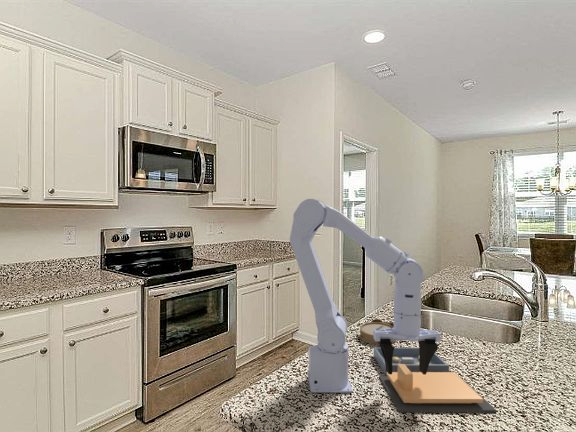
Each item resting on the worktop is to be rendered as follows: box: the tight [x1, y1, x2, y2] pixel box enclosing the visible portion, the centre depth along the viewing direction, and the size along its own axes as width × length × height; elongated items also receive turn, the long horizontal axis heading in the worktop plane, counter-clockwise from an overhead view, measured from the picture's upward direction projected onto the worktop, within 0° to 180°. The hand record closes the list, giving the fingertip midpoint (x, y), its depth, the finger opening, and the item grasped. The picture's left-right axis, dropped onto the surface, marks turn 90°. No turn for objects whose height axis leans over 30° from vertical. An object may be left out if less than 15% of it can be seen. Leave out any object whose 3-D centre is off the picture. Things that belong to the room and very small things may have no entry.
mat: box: [378, 375, 497, 414], centre depth 75 cm, size 20×14×1 cm
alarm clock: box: [358, 318, 397, 346], centre depth 109 cm, size 11×5×15 cm
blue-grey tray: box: [373, 346, 450, 376], centre depth 89 cm, size 16×11×2 cm
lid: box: [386, 364, 484, 403], centre depth 75 cm, size 17×12×5 cm
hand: (405, 372), depth 75 cm, fingers open, 7 cm apart
